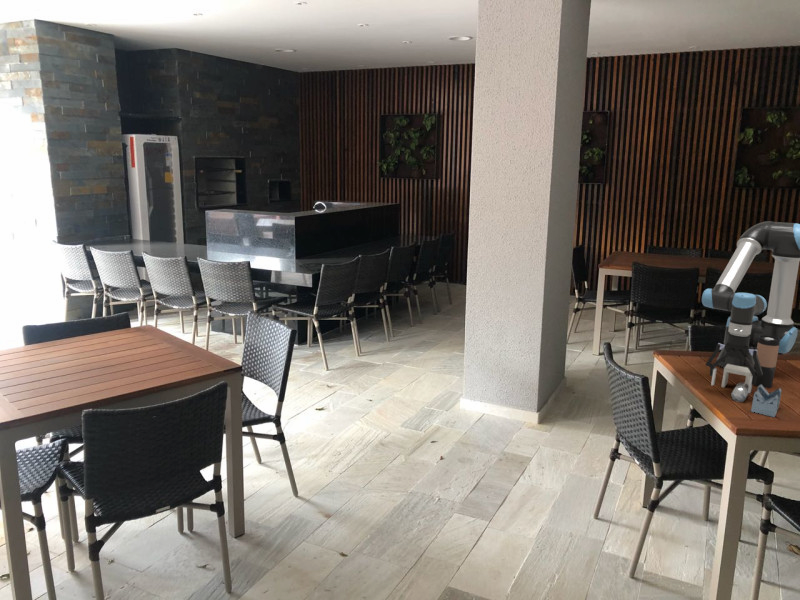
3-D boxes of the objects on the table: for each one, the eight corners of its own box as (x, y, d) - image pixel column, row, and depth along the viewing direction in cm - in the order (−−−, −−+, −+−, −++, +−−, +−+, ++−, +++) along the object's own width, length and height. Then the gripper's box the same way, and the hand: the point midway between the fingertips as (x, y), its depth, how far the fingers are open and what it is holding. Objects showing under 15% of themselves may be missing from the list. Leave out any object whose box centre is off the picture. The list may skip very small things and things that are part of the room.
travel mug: (765, 382, 266) (773, 335, 262) (776, 388, 259) (784, 340, 255) (747, 381, 266) (754, 334, 262) (757, 387, 258) (765, 339, 254)
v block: (756, 402, 242) (759, 383, 240) (778, 407, 238) (781, 388, 236) (751, 411, 232) (754, 392, 231) (774, 417, 228) (777, 397, 226)
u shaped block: (724, 382, 264) (727, 363, 262) (749, 387, 258) (752, 368, 257) (721, 387, 258) (724, 367, 256) (746, 392, 253) (749, 372, 251)
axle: (739, 380, 250) (752, 386, 248) (733, 391, 252) (746, 397, 249) (734, 386, 242) (748, 393, 240) (728, 397, 244) (742, 404, 241)
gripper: (702, 329, 247) (694, 383, 251) (774, 342, 233) (765, 398, 238) (706, 326, 253) (699, 378, 257) (777, 338, 239) (767, 393, 244)
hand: (730, 388), depth 248 cm, fingers open, 12 cm apart
